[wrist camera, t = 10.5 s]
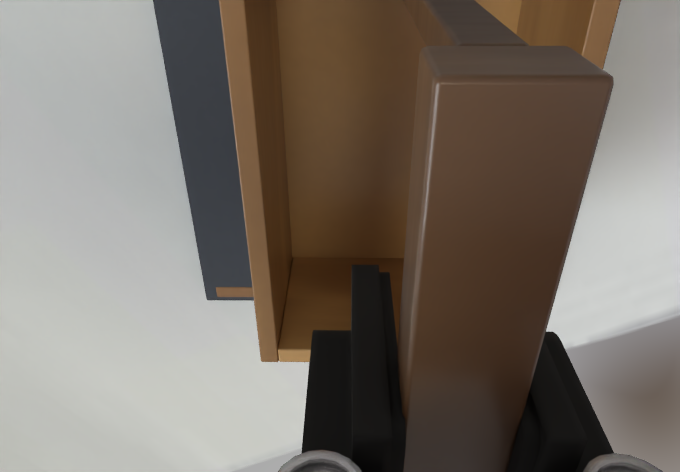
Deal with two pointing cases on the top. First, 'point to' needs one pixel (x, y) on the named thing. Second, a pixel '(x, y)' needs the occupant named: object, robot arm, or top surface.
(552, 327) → the top surface
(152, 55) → the top surface
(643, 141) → the top surface
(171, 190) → the top surface
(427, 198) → the basket
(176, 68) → the felt mat
